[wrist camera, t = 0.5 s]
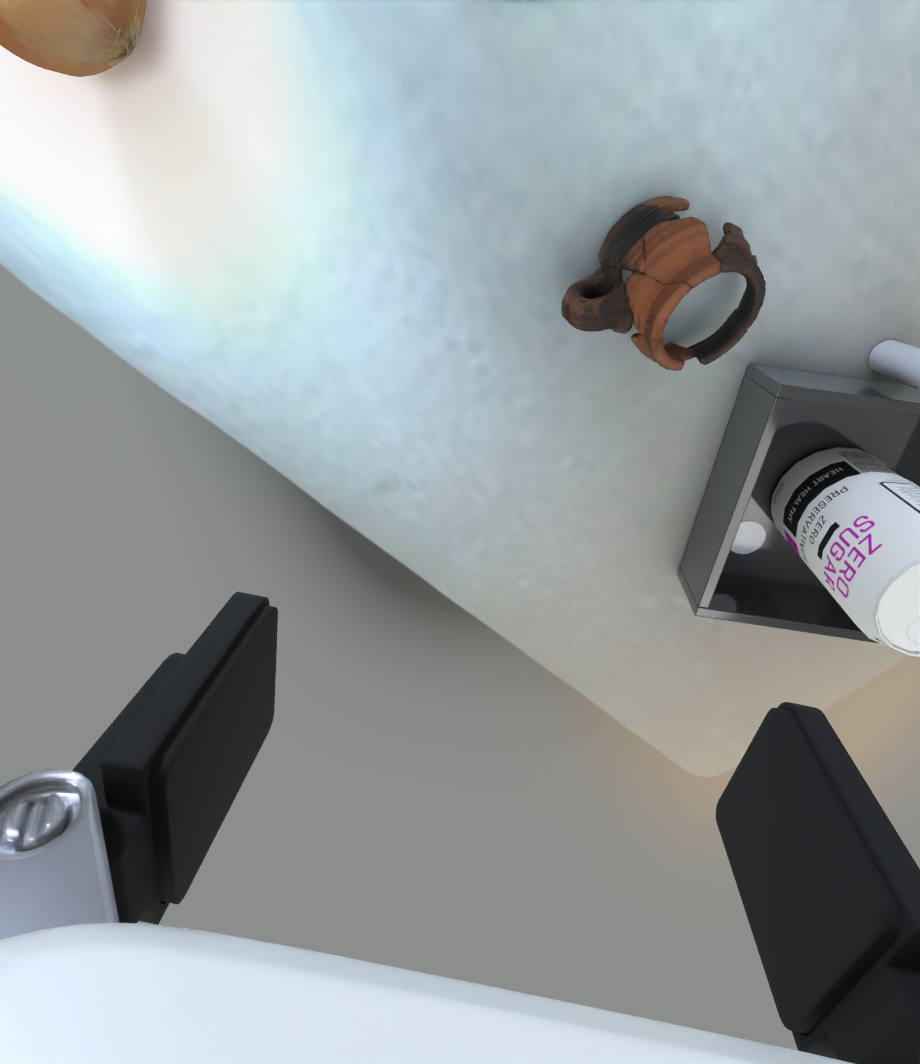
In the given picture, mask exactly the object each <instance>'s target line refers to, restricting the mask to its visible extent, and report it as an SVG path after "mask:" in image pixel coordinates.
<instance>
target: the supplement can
mask: <svg viewBox="0 0 920 1064" xmlns="http://www.w3.org/2000/svg"><path fill="white" fill-rule="evenodd" d="M771 514H772V517H773V520H774V523H775V526H776V528H777V529H778V530H779V531H780V533H781V534H782V535H783V536H784V537H785V539H786V540H787V541H788V542H789V544H790V545H791V546H792V547H793V548H794V550H795V551H796V552H797V553H798V555H799V556H800V557H801V558H802V560H803V561H804V562H805V563H806V564H807V566H808V567H809V568H810V569H811V571H812V572H813V573H814V574H815V575H816V577H817V578H818V579H819V580H820V582H821V583H822V584H823V585H824V586H825V588H826V589H827V590H828V591H829V593H830V594H831V595H832V596H833V597H834V599H835V600H836V601H837V602H838V604H839V605H840V606H841V607H842V608H843V610H844V611H845V612H846V613H847V615H848V616H849V617H850V618H851V619H852V621H853V622H854V623H855V624H856V625H857V626H858V627H859V629H860V630H861V631H862V632H863V633H864V634H865V635H866V636H867V637H868V638H869V639H871V640H874V641H876V642H878V643H881V644H883V645H885V646H888V647H891V648H893V649H896V650H898V651H900V652H903V653H905V654H907V655H910V656H920V487H919V486H917V485H916V484H914V483H913V482H912V481H910V480H909V479H907V478H906V477H904V476H903V475H901V474H900V473H898V472H897V471H895V470H894V469H892V468H891V467H889V466H888V465H886V464H885V463H883V462H882V461H880V460H879V459H878V458H876V457H874V456H872V455H870V454H868V453H866V452H864V451H862V450H859V449H854V448H840V447H837V448H832V449H828V450H824V451H819V452H816V453H814V454H812V455H810V456H808V457H807V458H805V459H803V460H801V461H799V462H797V463H796V464H795V465H794V466H793V467H792V468H791V469H790V470H789V471H788V472H787V473H786V474H785V475H784V476H783V477H782V478H781V480H780V482H779V484H778V486H777V488H776V489H775V491H774V493H773V497H772V506H771Z"/></svg>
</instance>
